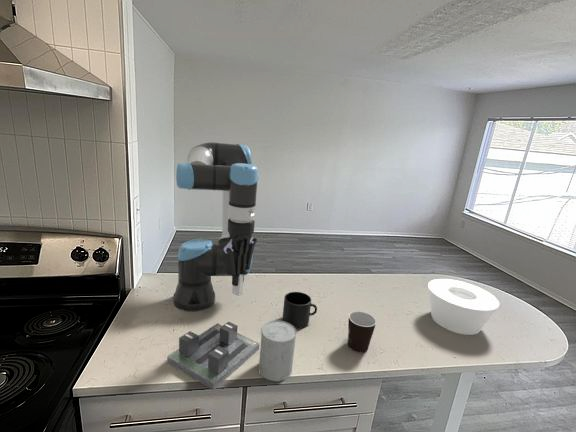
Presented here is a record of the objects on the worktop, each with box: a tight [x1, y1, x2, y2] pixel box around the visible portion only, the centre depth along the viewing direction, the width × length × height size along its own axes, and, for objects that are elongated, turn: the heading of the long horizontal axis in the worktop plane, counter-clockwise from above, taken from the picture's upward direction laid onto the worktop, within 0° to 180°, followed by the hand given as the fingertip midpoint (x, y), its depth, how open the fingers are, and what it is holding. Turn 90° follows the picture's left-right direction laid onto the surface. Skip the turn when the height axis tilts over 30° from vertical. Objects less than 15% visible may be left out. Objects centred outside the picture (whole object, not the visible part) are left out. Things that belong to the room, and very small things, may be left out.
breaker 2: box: [208, 346, 229, 374], centre depth 87 cm, size 4×4×5 cm
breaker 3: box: [219, 321, 239, 345], centre depth 99 cm, size 4×4×5 cm
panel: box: [166, 323, 261, 391], centre depth 95 cm, size 17×20×2 cm
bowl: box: [427, 278, 500, 336], centre depth 124 cm, size 24×24×12 cm
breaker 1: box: [178, 331, 200, 357], centre depth 92 cm, size 4×4×5 cm
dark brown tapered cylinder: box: [347, 310, 377, 354], centre depth 105 cm, size 12×9×10 cm
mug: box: [281, 291, 318, 329], centre depth 115 cm, size 9×12×9 cm
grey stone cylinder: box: [258, 320, 297, 382], centre depth 91 cm, size 10×10×12 cm
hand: (237, 293), depth 99 cm, fingers closed
